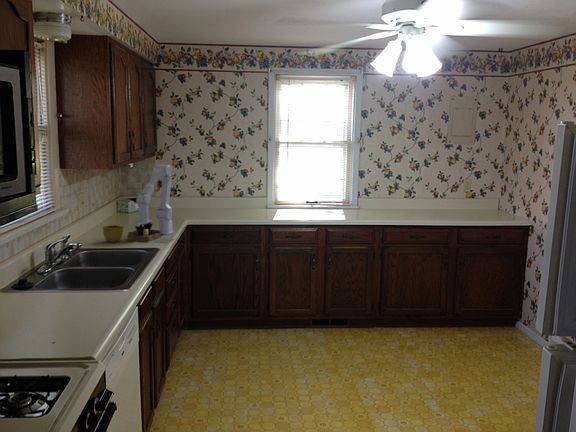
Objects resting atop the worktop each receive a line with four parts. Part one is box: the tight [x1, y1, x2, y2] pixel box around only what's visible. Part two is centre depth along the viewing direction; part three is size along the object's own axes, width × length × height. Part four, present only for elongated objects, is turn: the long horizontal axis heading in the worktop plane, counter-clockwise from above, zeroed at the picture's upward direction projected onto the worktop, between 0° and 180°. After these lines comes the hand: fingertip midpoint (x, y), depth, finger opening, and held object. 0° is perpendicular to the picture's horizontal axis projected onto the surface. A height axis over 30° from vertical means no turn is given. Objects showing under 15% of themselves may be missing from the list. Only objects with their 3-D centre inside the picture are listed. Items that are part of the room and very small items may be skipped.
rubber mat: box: [153, 237, 176, 244], centre depth 342 cm, size 12×8×1 cm, turn 162°
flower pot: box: [102, 224, 124, 243], centre depth 337 cm, size 9×9×9 cm
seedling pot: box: [143, 228, 148, 237], centre depth 345 cm, size 5×5×6 cm
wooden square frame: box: [126, 229, 162, 243], centre depth 346 cm, size 14×14×4 cm
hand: (144, 236), depth 346 cm, fingers open, 7 cm apart
